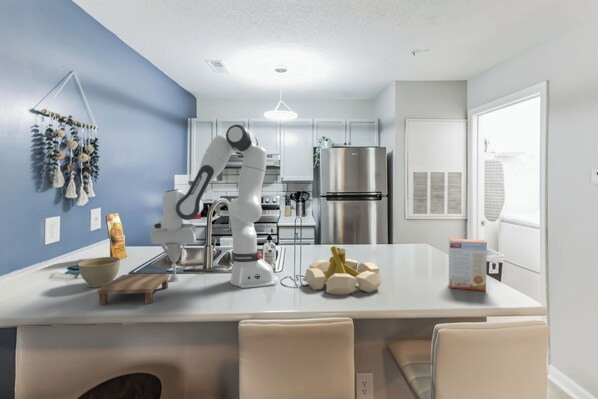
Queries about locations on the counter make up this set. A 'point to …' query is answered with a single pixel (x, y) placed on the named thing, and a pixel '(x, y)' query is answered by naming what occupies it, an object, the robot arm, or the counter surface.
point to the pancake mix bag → (115, 236)
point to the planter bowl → (99, 270)
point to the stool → (134, 286)
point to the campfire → (342, 274)
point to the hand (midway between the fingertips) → (174, 252)
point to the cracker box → (467, 264)
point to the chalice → (174, 259)
